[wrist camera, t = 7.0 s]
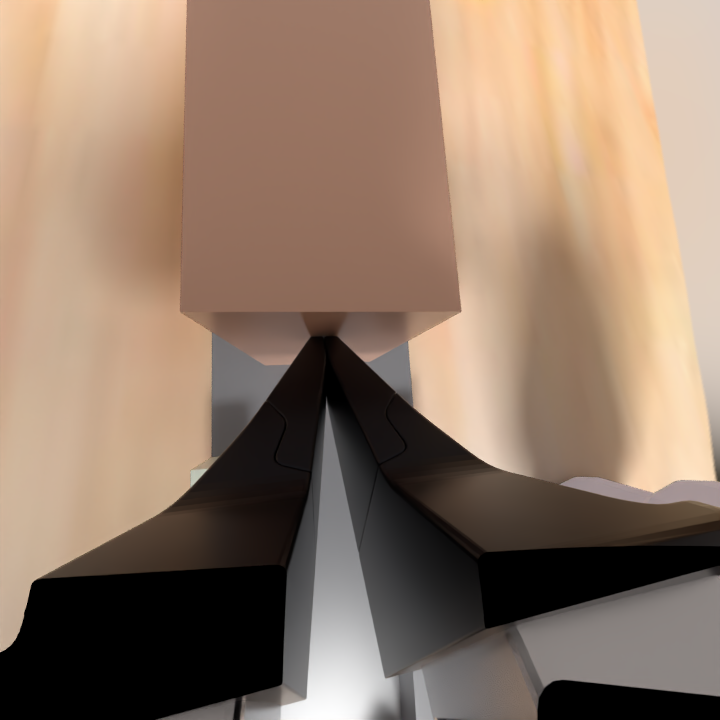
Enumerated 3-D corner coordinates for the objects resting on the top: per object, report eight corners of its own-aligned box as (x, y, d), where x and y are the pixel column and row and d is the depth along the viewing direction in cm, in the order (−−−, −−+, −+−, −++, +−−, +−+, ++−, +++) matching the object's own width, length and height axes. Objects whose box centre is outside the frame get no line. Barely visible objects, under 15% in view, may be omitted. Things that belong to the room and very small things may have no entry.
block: (264, 365, 15) (180, 312, 5) (261, 169, 16) (190, -162, 7) (370, 361, 16) (461, 312, 6) (358, 178, 18) (419, -94, 8)
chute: (214, 804, 13) (184, 933, 10) (216, 153, 17) (195, 99, 14) (435, 734, 15) (468, 822, 12) (390, 170, 19) (406, 126, 16)
